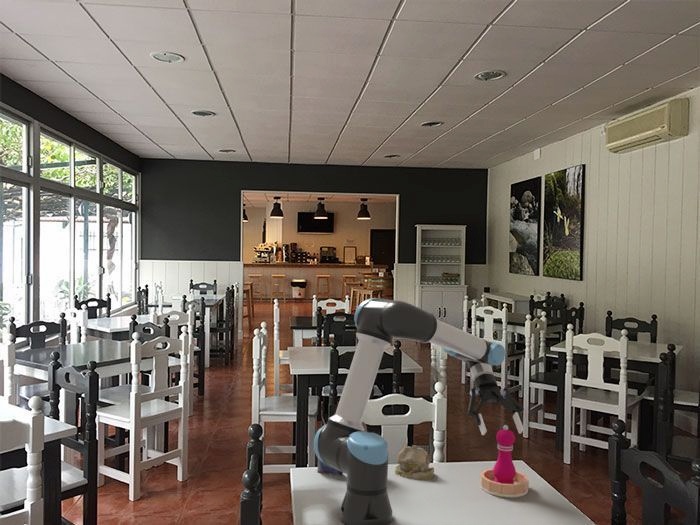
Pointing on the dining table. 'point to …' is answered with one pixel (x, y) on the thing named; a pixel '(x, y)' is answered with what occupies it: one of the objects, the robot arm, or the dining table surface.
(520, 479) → the terracotta bowl
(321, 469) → the flask
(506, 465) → the pepper mill
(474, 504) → the dining table surface
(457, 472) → the dining table surface
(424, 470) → the ceramic model
